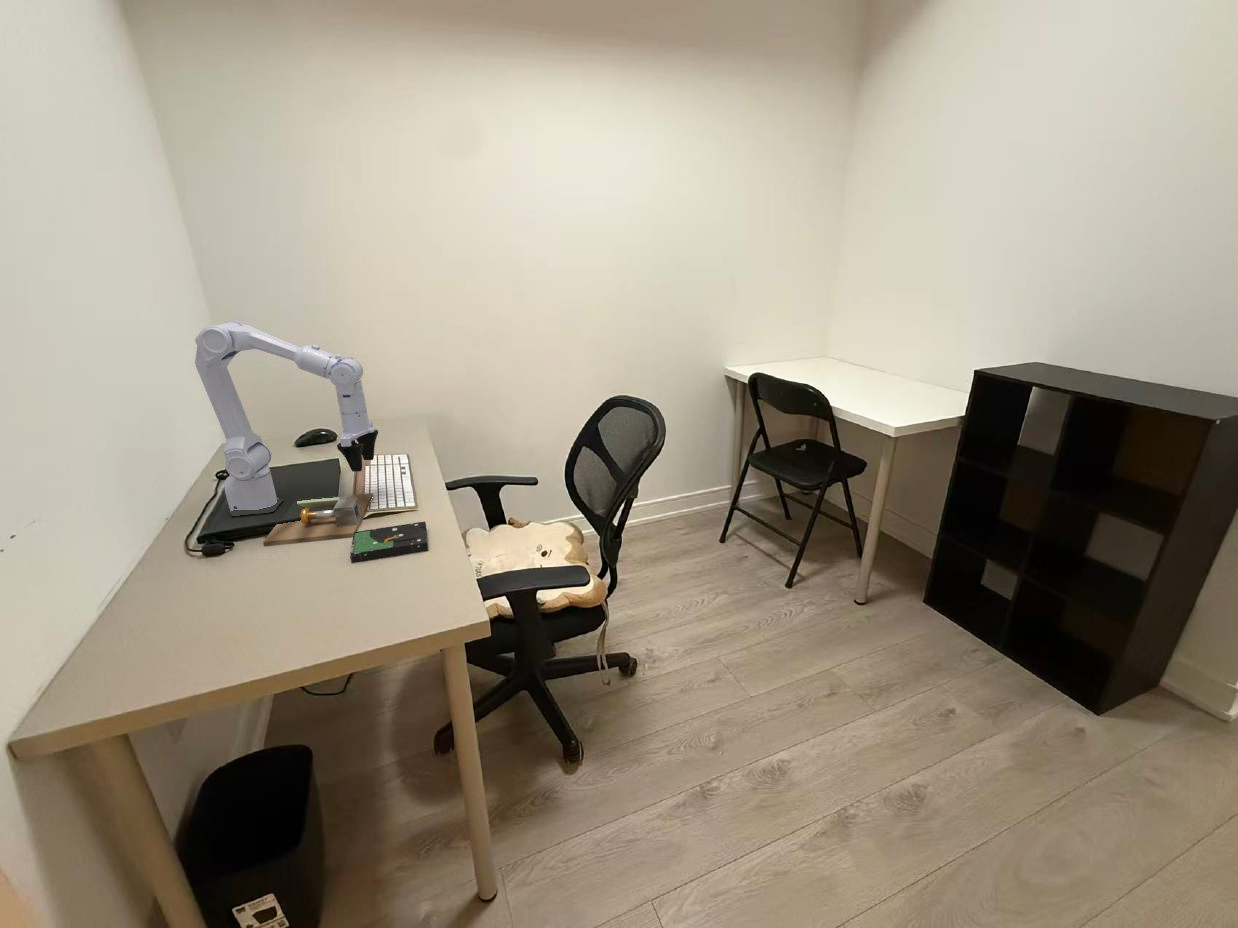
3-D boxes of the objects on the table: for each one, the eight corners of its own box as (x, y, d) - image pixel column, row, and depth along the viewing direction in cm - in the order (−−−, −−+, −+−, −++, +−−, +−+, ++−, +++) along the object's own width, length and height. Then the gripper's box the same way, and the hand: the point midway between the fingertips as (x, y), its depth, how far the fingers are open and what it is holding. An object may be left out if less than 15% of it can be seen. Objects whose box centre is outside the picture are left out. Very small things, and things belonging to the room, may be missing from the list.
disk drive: (427, 531, 127) (355, 542, 123) (425, 520, 126) (352, 530, 122) (429, 553, 118) (351, 566, 113) (427, 541, 117) (349, 553, 112)
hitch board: (264, 546, 121) (258, 523, 119) (296, 503, 141) (291, 483, 139) (354, 536, 124) (349, 514, 122) (373, 496, 144) (369, 477, 142)
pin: (302, 526, 126) (299, 512, 124) (307, 519, 129) (303, 506, 128) (342, 522, 127) (339, 508, 126) (345, 516, 130) (342, 502, 129)
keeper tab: (296, 504, 129) (296, 500, 129) (306, 509, 135) (306, 505, 135) (339, 500, 130) (339, 496, 131) (347, 505, 137) (347, 501, 137)
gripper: (358, 419, 126) (368, 475, 131) (381, 402, 140) (389, 454, 145) (326, 420, 126) (337, 476, 131) (352, 403, 140) (361, 455, 144)
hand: (363, 465), depth 138 cm, fingers open, 7 cm apart
